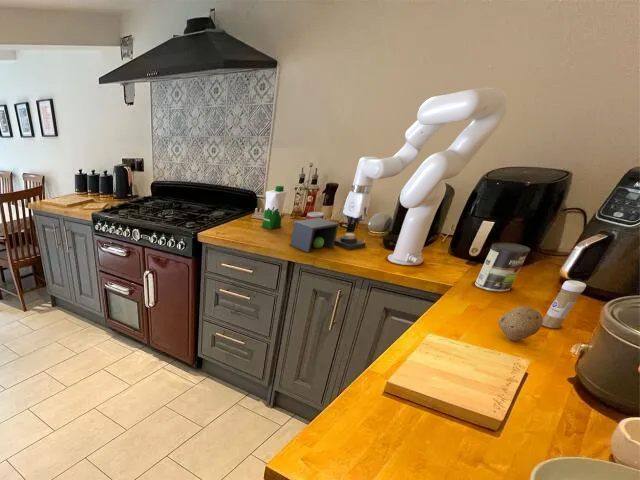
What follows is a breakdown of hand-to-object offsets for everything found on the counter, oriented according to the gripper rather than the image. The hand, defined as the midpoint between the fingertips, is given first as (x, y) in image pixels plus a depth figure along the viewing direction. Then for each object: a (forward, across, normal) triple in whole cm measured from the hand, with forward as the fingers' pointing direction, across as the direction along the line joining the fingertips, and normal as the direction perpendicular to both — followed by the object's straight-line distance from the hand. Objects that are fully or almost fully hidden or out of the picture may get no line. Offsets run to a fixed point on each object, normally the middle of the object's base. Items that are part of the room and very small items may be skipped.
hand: (350, 231), depth 190 cm
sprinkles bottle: (+5, +88, -4) cm, 89 cm away
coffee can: (+6, +61, +10) cm, 62 cm away
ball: (+4, -2, -15) cm, 15 cm away
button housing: (+6, 0, 0) cm, 6 cm away
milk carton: (+7, -43, -12) cm, 45 cm away
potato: (+5, +90, -22) cm, 92 cm away
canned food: (+6, -19, -5) cm, 20 cm away
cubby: (+6, -5, -16) cm, 18 cm away
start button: (+3, 0, 0) cm, 3 cm away
